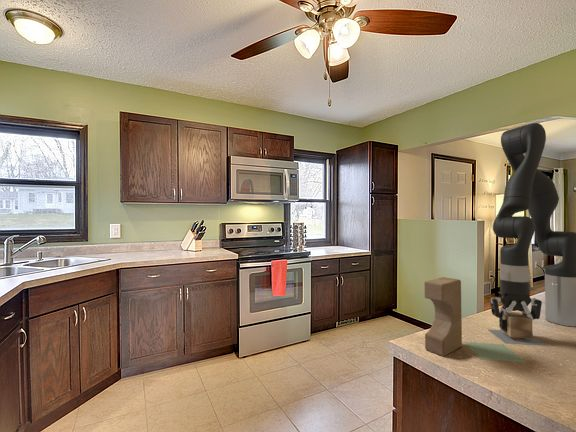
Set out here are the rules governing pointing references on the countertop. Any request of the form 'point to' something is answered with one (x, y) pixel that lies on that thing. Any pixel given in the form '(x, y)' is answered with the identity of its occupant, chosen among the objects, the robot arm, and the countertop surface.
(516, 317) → the walnut block
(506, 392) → the countertop surface
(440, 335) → the decorative block
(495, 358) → the mat
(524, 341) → the tile
